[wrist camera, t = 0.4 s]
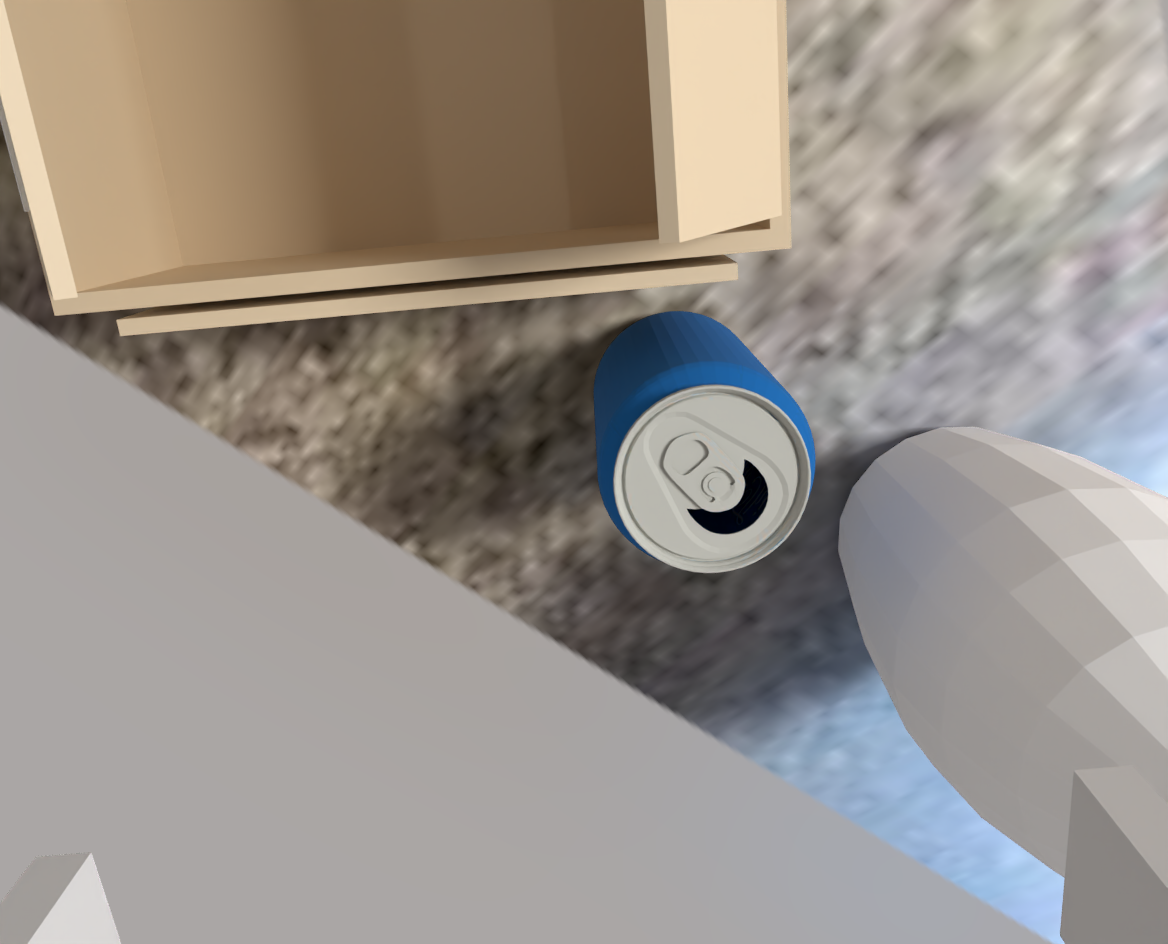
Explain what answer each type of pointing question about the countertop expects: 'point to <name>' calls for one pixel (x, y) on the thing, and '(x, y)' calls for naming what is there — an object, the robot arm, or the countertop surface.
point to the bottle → (1014, 619)
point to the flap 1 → (31, 168)
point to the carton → (354, 155)
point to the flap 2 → (713, 114)
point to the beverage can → (698, 445)
